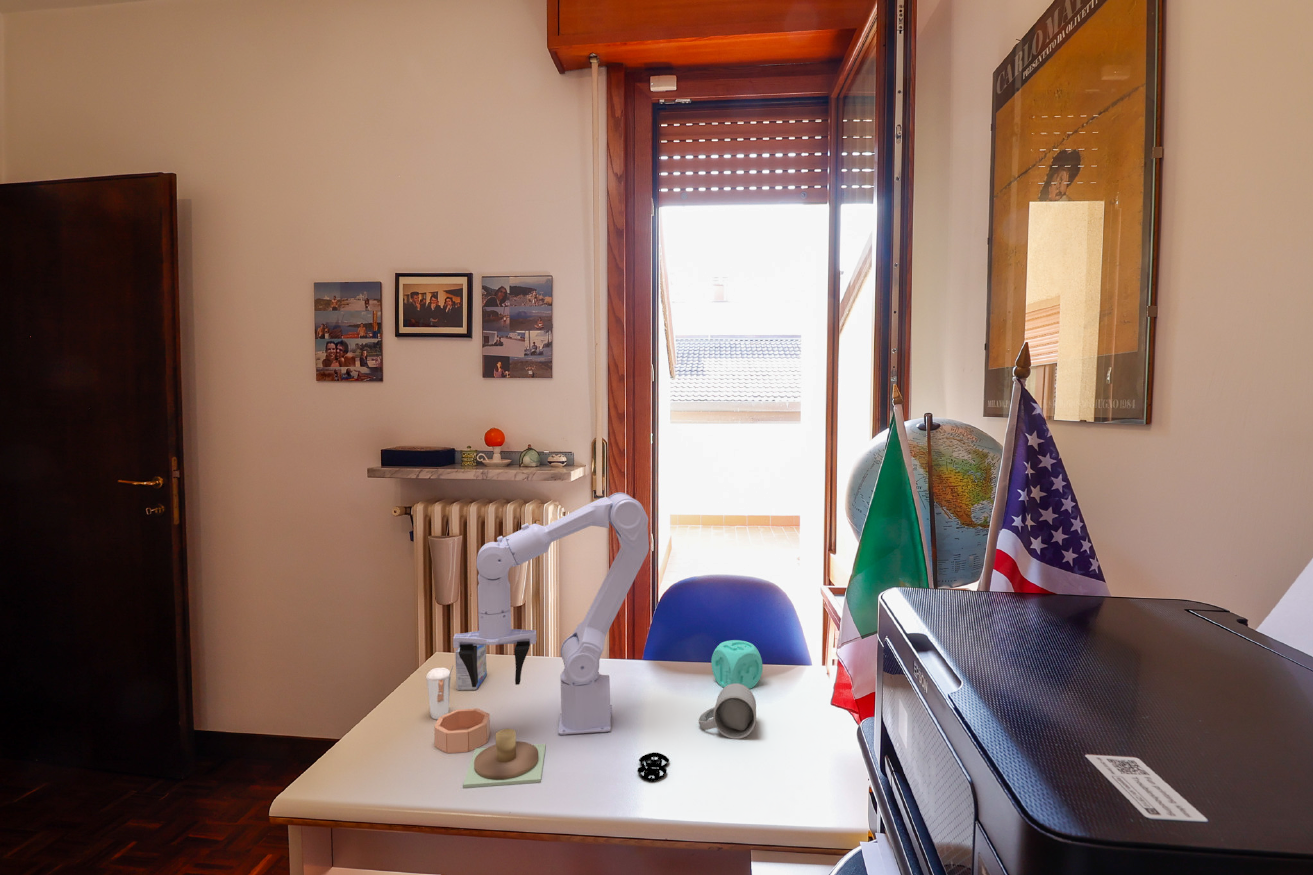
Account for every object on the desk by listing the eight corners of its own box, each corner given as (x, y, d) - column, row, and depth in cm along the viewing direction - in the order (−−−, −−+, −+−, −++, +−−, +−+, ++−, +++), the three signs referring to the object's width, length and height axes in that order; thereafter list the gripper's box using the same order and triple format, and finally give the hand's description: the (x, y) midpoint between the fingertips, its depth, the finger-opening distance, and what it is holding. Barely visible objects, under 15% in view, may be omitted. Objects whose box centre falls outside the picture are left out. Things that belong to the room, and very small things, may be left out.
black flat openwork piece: (634, 783, 101) (634, 777, 101) (640, 757, 109) (640, 751, 109) (666, 785, 101) (666, 778, 101) (670, 758, 109) (670, 751, 109)
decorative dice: (711, 680, 139) (710, 644, 139) (741, 672, 143) (740, 637, 143) (732, 694, 132) (731, 656, 132) (763, 686, 136) (763, 648, 136)
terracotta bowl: (492, 725, 120) (491, 707, 120) (484, 750, 111) (483, 730, 111) (443, 728, 120) (442, 710, 119) (431, 754, 111) (430, 734, 110)
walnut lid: (539, 742, 113) (538, 715, 112) (537, 775, 102) (536, 745, 102) (478, 749, 111) (477, 722, 111) (470, 783, 101) (469, 753, 101)
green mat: (545, 746, 112) (545, 743, 112) (540, 782, 102) (540, 779, 102) (475, 751, 111) (475, 748, 111) (462, 787, 100) (462, 784, 100)
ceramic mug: (756, 718, 121) (755, 678, 121) (756, 740, 113) (755, 697, 113) (700, 716, 123) (699, 677, 123) (696, 738, 115) (695, 695, 115)
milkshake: (448, 722, 122) (446, 670, 122) (422, 720, 123) (421, 668, 123) (460, 711, 127) (458, 661, 126) (435, 709, 128) (434, 659, 127)
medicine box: (476, 690, 136) (475, 650, 136) (455, 691, 136) (454, 650, 136) (487, 675, 144) (486, 637, 144) (467, 675, 144) (466, 637, 144)
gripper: (448, 618, 112) (450, 695, 112) (533, 614, 113) (535, 690, 113) (457, 606, 119) (459, 678, 119) (536, 602, 120) (538, 674, 120)
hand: (496, 683), depth 117 cm, fingers open, 7 cm apart
